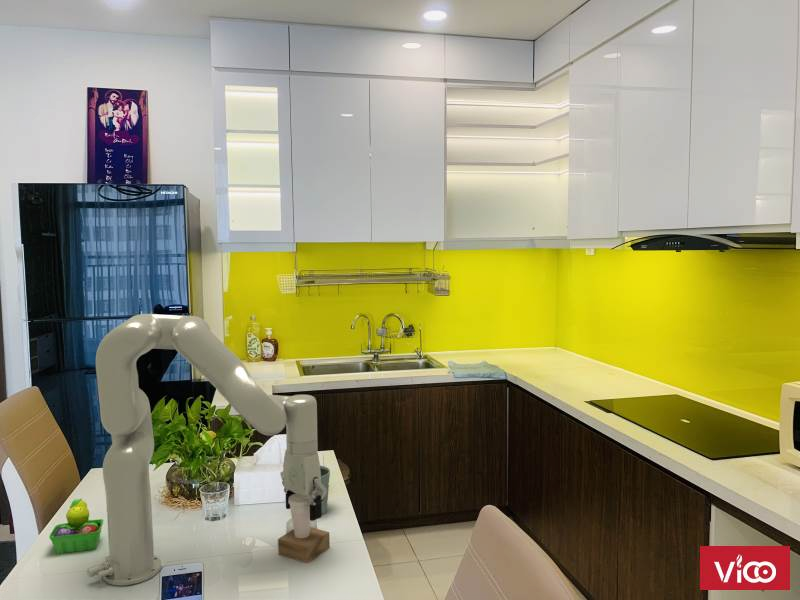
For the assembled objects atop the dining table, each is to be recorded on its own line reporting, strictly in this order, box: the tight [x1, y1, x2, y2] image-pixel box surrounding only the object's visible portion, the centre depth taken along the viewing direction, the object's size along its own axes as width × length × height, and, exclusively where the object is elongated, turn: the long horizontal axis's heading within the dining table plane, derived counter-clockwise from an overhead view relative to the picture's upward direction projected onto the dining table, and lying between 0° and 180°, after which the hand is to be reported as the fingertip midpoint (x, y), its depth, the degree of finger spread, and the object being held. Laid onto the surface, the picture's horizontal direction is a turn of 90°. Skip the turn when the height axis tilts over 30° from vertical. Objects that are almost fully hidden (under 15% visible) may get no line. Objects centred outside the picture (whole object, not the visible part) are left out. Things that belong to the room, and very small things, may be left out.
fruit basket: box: [48, 498, 104, 555], centre depth 162 cm, size 11×9×11 cm
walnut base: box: [277, 527, 331, 564], centre depth 158 cm, size 9×9×4 cm
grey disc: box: [285, 518, 318, 534], centre depth 169 cm, size 8×8×2 cm
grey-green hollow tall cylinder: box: [311, 465, 331, 516], centre depth 181 cm, size 10×10×12 cm
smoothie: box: [288, 494, 314, 538], centre depth 158 cm, size 6×6×14 cm
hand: (303, 513), depth 158 cm, fingers open, 9 cm apart
